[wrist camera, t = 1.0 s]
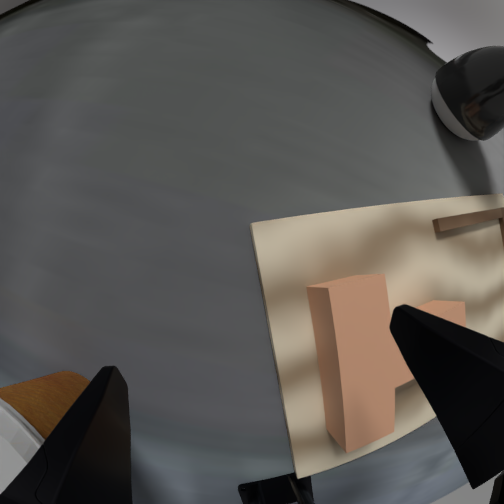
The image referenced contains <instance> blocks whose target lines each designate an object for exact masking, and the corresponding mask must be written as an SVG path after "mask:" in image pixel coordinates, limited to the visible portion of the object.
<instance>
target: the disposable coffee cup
mask: <svg viewBox="0 0 504 504" xmlns="http://www.w3.org/2000/svg"><path fill="white" fill-rule="evenodd" d="M89 383H90V381H89V380H88V379H86V378H84V377H83V376H81V375H79V374H77V373H74V372H70V371H62V372H57V373H54V374H51V375H47V376H44V377H40V378H37V379H33V380H29V381H26V382H22V383H18V384H14V385H10V386H7V387H3V388H0V494H1V493H2V492H3V491H4V490H5V489H6V487H7V486H8V485H9V484H10V483H11V482H12V481H13V480H14V478H15V477H16V476H17V475H18V474H19V473H20V472H21V470H22V469H23V468H24V467H25V466H26V465H27V463H28V462H29V461H30V460H31V458H32V457H33V456H34V454H35V453H36V452H37V450H38V449H39V448H40V446H41V445H42V444H43V443H44V441H45V440H46V438H47V437H48V436H49V434H50V433H51V432H52V430H53V429H54V428H55V426H56V425H57V424H58V422H59V421H60V420H61V419H62V417H63V416H64V415H65V413H66V412H67V411H68V409H69V408H70V407H71V406H72V404H73V403H74V402H75V401H76V399H77V398H78V397H79V396H80V394H81V393H82V392H83V391H84V389H85V388H86V387H87V386H88V384H89Z"/></svg>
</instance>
